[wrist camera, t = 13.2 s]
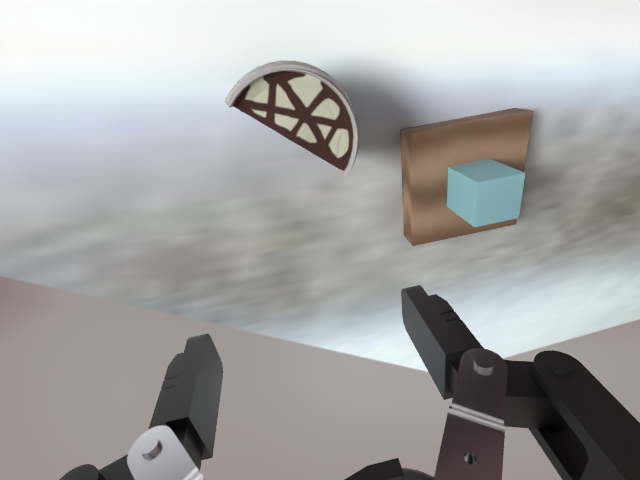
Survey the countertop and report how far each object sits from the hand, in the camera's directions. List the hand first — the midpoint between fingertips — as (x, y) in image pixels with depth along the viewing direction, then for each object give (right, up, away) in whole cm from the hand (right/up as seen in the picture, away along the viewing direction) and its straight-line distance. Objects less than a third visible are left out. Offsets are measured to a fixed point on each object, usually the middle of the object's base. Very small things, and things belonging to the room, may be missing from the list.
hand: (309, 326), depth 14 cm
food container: (-2, +19, +22) cm, 29 cm away
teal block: (+18, +10, +26) cm, 33 cm away
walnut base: (+18, +12, +28) cm, 35 cm away
